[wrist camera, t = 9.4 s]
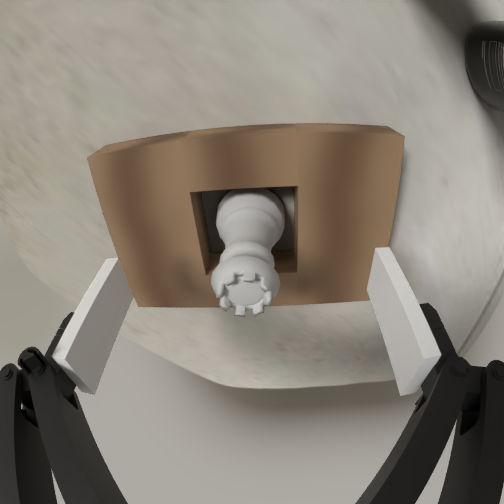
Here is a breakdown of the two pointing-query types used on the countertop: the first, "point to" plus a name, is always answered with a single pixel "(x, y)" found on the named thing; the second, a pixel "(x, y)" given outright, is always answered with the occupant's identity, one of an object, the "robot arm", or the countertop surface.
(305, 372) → the countertop surface
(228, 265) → the rook chess piece
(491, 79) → the supplement bottle
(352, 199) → the walnut socket board
